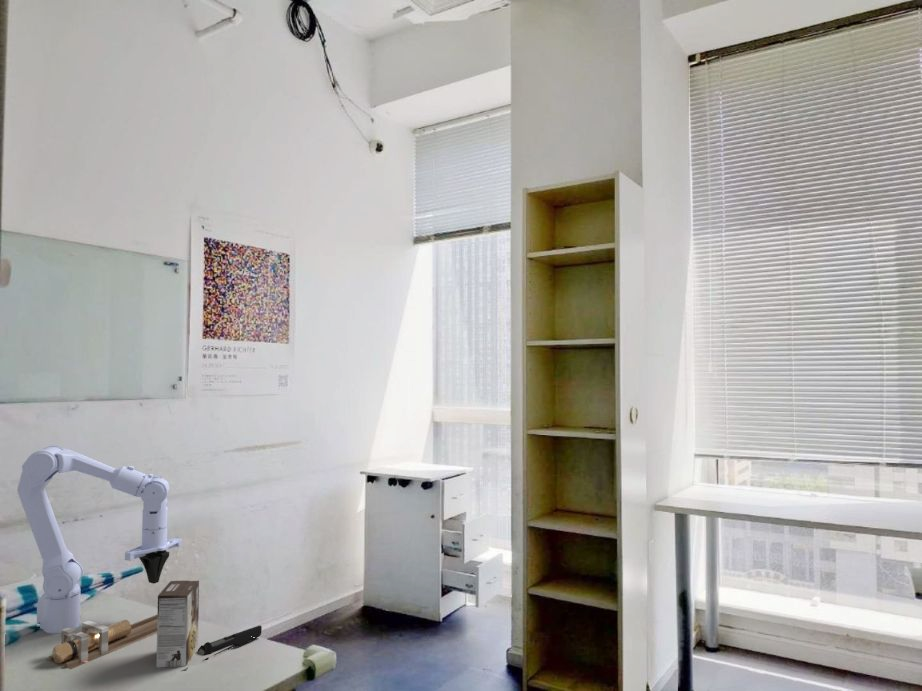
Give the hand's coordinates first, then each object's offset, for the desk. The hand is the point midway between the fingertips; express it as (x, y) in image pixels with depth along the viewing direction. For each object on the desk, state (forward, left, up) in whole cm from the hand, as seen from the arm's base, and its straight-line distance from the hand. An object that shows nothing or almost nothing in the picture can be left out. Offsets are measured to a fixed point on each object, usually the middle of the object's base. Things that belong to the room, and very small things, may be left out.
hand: (153, 582), depth 161 cm
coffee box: (+23, -11, -10) cm, 27 cm away
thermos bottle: (+4, -18, -9) cm, 20 cm away
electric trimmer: (+27, 0, -10) cm, 29 cm away
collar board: (+4, -12, -10) cm, 16 cm away
